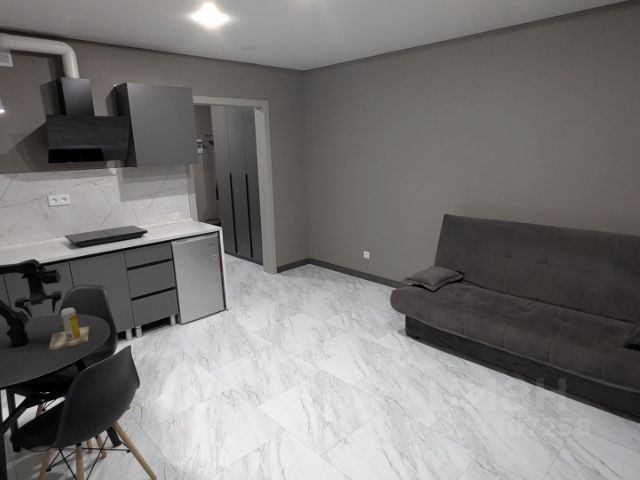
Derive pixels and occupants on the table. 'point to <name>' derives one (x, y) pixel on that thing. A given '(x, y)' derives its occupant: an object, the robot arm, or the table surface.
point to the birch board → (61, 341)
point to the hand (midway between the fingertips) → (42, 315)
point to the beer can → (70, 323)
